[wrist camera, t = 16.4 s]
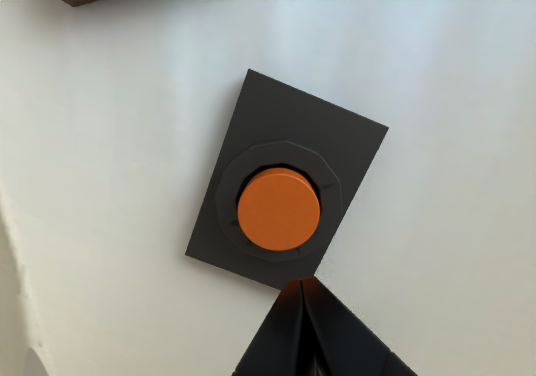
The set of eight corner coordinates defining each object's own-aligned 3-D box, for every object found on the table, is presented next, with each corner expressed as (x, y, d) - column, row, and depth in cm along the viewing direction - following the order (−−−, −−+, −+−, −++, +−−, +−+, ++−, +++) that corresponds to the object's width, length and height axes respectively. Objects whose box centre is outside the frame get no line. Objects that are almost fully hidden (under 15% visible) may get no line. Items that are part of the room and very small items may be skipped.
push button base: (300, 283, 20) (304, 316, 17) (192, 243, 20) (174, 269, 16) (378, 126, 17) (404, 128, 13) (251, 73, 16) (244, 61, 13)
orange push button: (297, 247, 16) (300, 262, 14) (231, 222, 16) (226, 234, 14) (327, 184, 15) (334, 192, 13) (257, 155, 15) (254, 160, 13)
